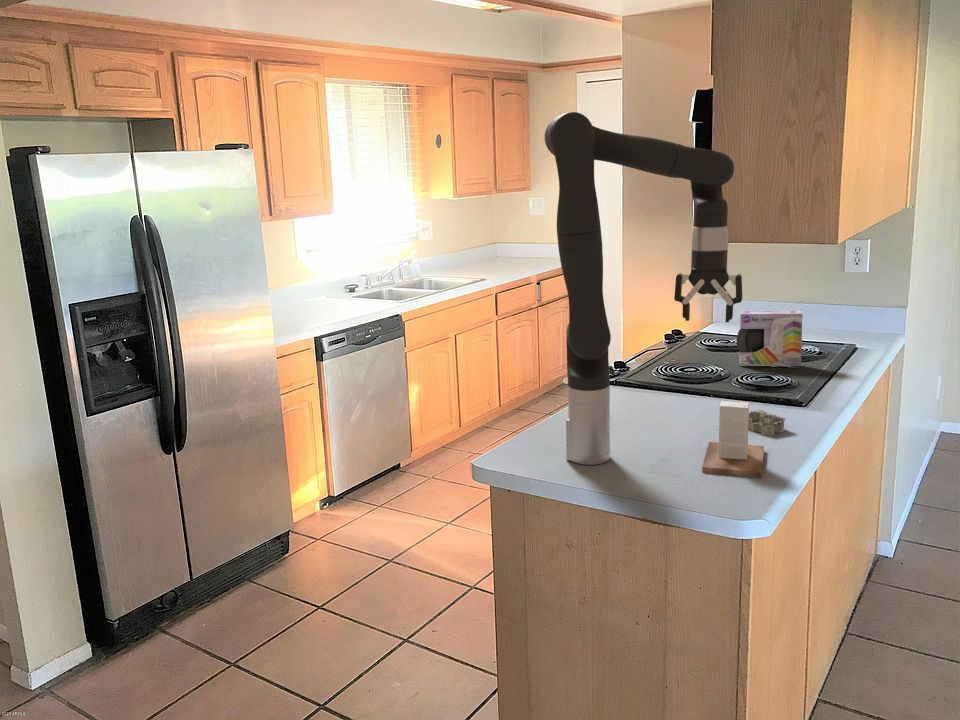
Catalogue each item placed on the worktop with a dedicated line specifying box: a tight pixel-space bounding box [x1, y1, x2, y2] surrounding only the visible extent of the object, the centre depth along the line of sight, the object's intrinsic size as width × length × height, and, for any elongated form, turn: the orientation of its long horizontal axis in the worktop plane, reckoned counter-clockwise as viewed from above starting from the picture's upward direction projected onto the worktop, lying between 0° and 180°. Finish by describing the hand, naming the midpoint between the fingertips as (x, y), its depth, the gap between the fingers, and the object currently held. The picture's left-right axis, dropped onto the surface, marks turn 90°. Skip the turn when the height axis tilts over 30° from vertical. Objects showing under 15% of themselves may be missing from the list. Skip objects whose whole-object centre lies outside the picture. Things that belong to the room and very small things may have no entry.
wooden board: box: [701, 441, 765, 478], centre depth 175 cm, size 12×16×1 cm
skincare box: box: [718, 400, 750, 460], centre depth 174 cm, size 6×4×12 cm
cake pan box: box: [736, 309, 803, 366], centre depth 248 cm, size 19×5×18 cm, turn 73°
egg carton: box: [748, 409, 788, 436], centre depth 195 cm, size 11×8×4 cm
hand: (707, 321), depth 176 cm, fingers open, 8 cm apart
